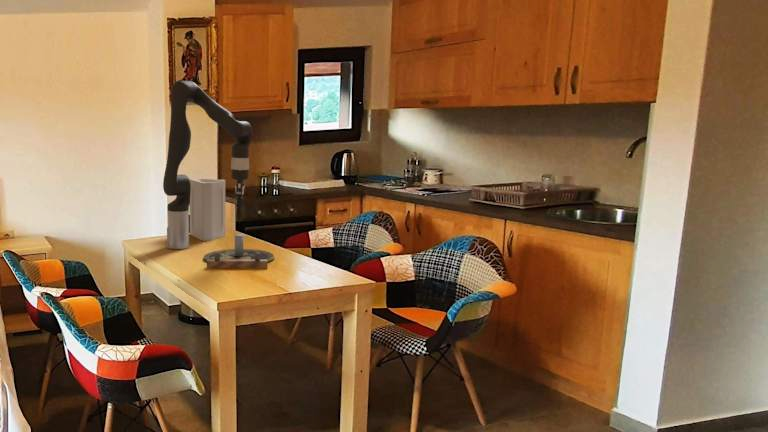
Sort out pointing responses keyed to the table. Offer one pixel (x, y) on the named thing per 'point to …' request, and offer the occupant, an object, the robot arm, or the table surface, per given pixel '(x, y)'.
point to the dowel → (239, 245)
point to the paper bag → (207, 208)
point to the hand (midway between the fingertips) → (239, 205)
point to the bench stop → (237, 262)
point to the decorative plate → (246, 255)
